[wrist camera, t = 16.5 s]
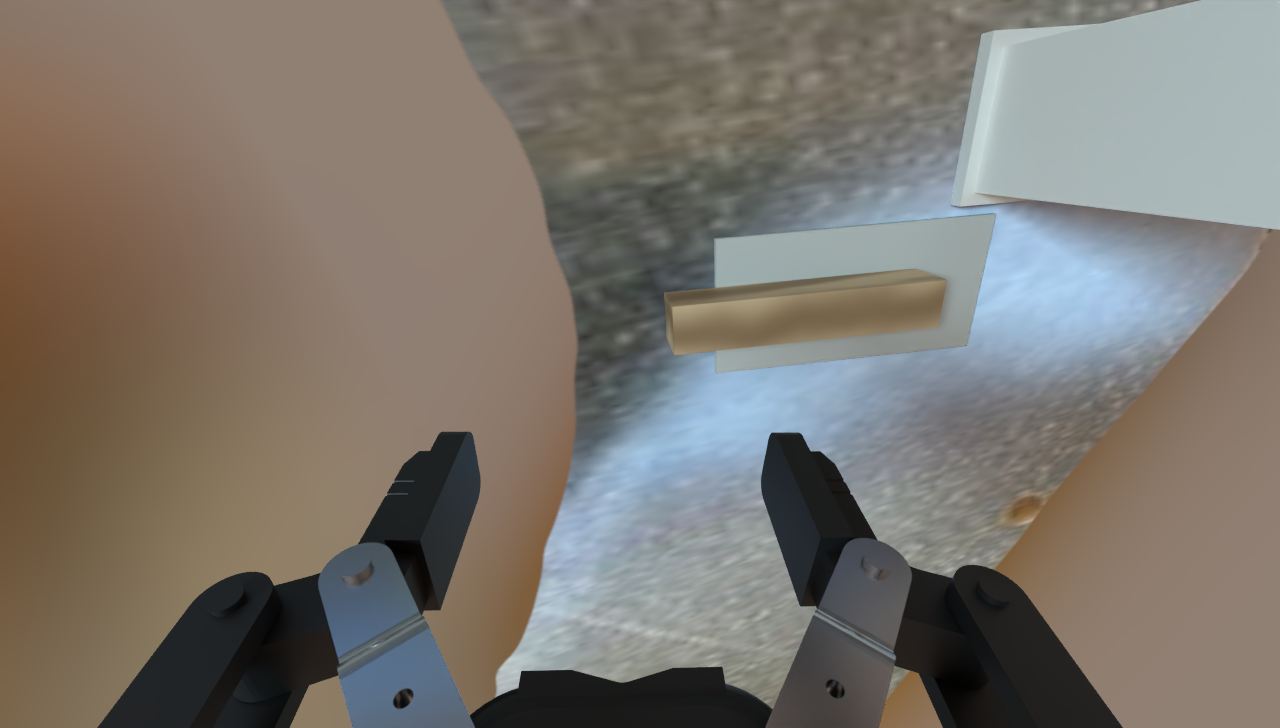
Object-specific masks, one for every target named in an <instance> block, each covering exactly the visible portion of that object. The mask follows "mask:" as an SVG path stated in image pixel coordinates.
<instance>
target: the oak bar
mask: <svg viewBox="0 0 1280 728" xmlns="http://www.w3.org/2000/svg"><path fill="white" fill-rule="evenodd" d="M946 284H947V280H946V279H943V278H941V277H938V276H935V275H933V274H930V273H927V272H924V271H922V270H919V269H916V268H915V269H904V270H894V271H884V272H873V273H863V274H852V275H842V276H831V277H821V278H811V279H800V280H790V281H779V282H769V283H759V284H748V285H738V286H727V287H717V288H706V289H696V290H686V291H675V292H665V293H664V295H665V316H666V337H667V340H668V342H669V344H670V346H671V349H672V351H673V353H674V355H681V354H691V353H700V352H710V351H719V350H729V349H738V348H748V347H757V346H767V345H776V344H786V343H795V342H805V341H814V340H824V339H833V338H843V337H852V336H862V335H871V334H881V333H890V332H900V331H909V330H919V329H928V328H938V325H939V320H940V315H941V309H942V304H943V299H944V294H945V289H946Z"/></svg>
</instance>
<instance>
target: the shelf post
mask: <svg viewBox="0 0 1280 728" xmlns="http://www.w3.org/2000/svg"><path fill="white" fill-rule="evenodd" d="M1030 200H1039V201H1047V202H1055V203H1064V204H1072V205H1080V206H1088V207H1096V208H1105V209H1113V210H1121V211H1129V212H1138V213H1146V214H1154V215H1162V216H1170V217H1179V218H1187V219H1195V220H1203V221H1212V222H1220V223H1228V224H1236V225H1245V226H1253V227H1261V228H1269V229H1278V230H1280V0H1200V1H1196V2H1192V3H1188V4H1183V5H1179V6H1175V7H1170V8H1166V9H1162V10H1158V11H1153V12H1149V13H1145V14H1140V15H1136V16H1132V17H1128V18H1123V19H1119V20H1115V21H1110V22H1106V23H1102V24H1093V25H1076V26H1060V27H1044V28H1028V29H1012V30H996V31H991V32H987V33H984V34H982V35H981V40H980V46H979V51H978V57H977V62H976V67H975V73H974V78H973V84H972V89H971V94H970V100H969V105H968V111H967V116H966V121H965V127H964V132H963V138H962V143H961V148H960V154H959V159H958V165H957V170H956V175H955V181H954V186H953V192H952V197H951V202H950V205H953V206H959V207H962V206H973V205H984V204H996V203H1007V202H1018V201H1030Z"/></svg>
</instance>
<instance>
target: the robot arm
mask: <svg viewBox="0 0 1280 728" xmlns="http://www.w3.org/2000/svg"><path fill="white" fill-rule="evenodd" d="M761 489H762V495H763V499H764V502H765V505H766V508H767V511H768V514H769V517H770V520H771V523H772V525H773V528H774V531H775V534H776V537H777V540H778V543H779V546H780V549H781V552H782V555H783V558H784V561H785V564H786V566H787V569H788V572H789V575H790V578H791V581H792V584H793V587H794V590H795V593H796V596H797V599H798V602H799V605H800V606H816V608H817V610H816V611H815V613H814V615H813V617H812V619H811V622H810V624H809V626H808V629H807V631H806V633H805V636H804V638H803V640H802V643H801V645H800V647H799V650H798V652H797V654H796V657H795V659H794V661H793V664H792V666H791V668H790V671H789V673H788V675H787V678H786V680H785V682H784V685H783V687H782V689H781V692H780V694H779V696H778V699H777V701H776V703H775V706H774V708H773V709H772V708H770V707H769V706H768V705H767V704H765V703H764V702H763V701H761V700H760V699H758V698H757V697H755V696H753V695H752V694H750V693H748V692H746V691H744V690H742V689H739V688H737V687H734V686H732V685H728V684H725V680H724V674H723V668H722V667H697V668H672V669H669V670H665V671H662V672H659V673H656V674H652V675H649V676H646V677H643V678H639V679H636V680H633V681H629V682H625V683H620V682H615V681H611V680H607V679H604V678H600V677H596V676H592V675H588V674H585V673H581V672H577V671H573V670H549V671H521V676H520V682H519V688H517V689H514V690H511V691H508V692H506V693H504V694H502V695H499V696H497V697H496V698H494V699H492V700H491V701H489V702H487V703H486V704H484V705H483V706H481V707H480V708H479V709H477V710H476V711H475V712H473V713H472V714H471V715H470V716H469V714H468V711H467V709H466V707H465V705H464V703H463V701H462V698H461V696H460V694H459V692H458V689H457V687H456V685H455V683H454V681H453V679H452V677H451V674H450V672H449V670H448V668H447V665H446V663H445V661H444V659H443V657H442V654H441V652H440V650H439V648H438V646H437V644H436V641H435V639H434V637H433V635H432V633H431V630H430V628H429V626H428V624H427V622H426V620H425V618H424V617H423V616H422V614H423V611H424V610H440V609H441V606H442V603H443V600H444V598H445V594H446V592H447V589H448V586H449V583H450V580H451V577H452V574H453V571H454V568H455V565H456V562H457V559H458V557H459V554H460V551H461V548H462V545H463V542H464V539H465V536H466V533H467V530H468V527H469V524H470V521H471V519H472V516H473V513H474V510H475V507H476V504H477V501H478V498H479V493H480V472H479V467H478V461H477V455H476V450H475V444H474V439H473V435H472V433H471V432H441V433H440V434H439V435H438V437H437V439H436V441H435V442H434V444H433V447H432V448H431V450H430V451H419V452H418V453H416V454H415V455H414V456H413V457H412V458H411V459H409V460H408V461H407V462H406V463H405V464H404V465H403V466H402V468H401V470H400V471H399V474H398V475H397V477H396V478H395V482H394V483H393V484H392V486H391V487H390V489H389V491H388V493H387V496H385V498H384V500H383V501H382V503H381V505H380V507H379V508H378V510H377V512H376V514H375V516H374V517H373V519H372V521H371V522H370V525H369V526H368V528H367V529H366V531H365V533H364V535H363V537H362V538H361V540H360V542H359V543H358V545H355V546H352V547H350V548H348V549H346V550H344V551H342V552H341V553H339V554H338V555H336V556H335V557H334V558H333V559H332V560H330V561H329V562H328V563H327V565H326V566H325V567H324V569H323V570H322V572H321V573H319V574H316V575H313V576H309V577H306V578H302V579H298V580H294V581H291V582H287V583H283V584H279V585H276V586H274V585H273V583H272V581H271V580H270V578H269V577H268V576H267V575H265V574H263V573H259V572H245V573H241V574H236V575H233V576H231V577H228V578H226V579H224V580H221V581H220V582H218V583H216V584H214V585H213V586H211V587H210V588H208V589H207V590H206V591H204V592H203V593H202V594H200V595H199V596H198V597H197V598H196V599H195V600H194V601H193V602H192V604H191V605H190V606H189V607H188V609H187V610H186V611H185V613H184V614H183V615H182V617H181V618H180V619H179V621H178V622H177V623H176V625H175V626H174V627H173V629H172V630H171V631H170V633H169V634H168V635H167V637H166V638H165V639H164V640H163V642H162V643H161V645H160V646H159V647H158V648H157V650H156V651H155V652H154V654H153V655H152V656H151V658H150V659H149V660H148V662H147V663H146V664H145V666H144V667H143V668H142V670H141V671H140V672H139V674H138V675H137V676H136V678H135V679H134V680H133V681H132V683H131V684H130V685H129V687H128V688H127V690H126V691H125V692H124V693H123V695H122V696H121V698H120V699H119V700H118V701H117V703H116V704H115V705H114V707H113V708H112V709H111V711H110V712H109V713H108V715H107V716H106V717H105V719H104V720H103V721H102V723H101V724H100V725H99V726H98V728H290V725H291V723H292V721H293V719H294V717H295V715H296V712H297V710H298V708H299V706H300V704H301V701H302V699H303V697H304V695H305V693H306V691H307V688H308V686H309V685H311V684H314V683H317V682H320V681H323V680H326V679H329V678H332V677H335V676H338V675H339V679H340V683H341V686H342V690H343V694H344V698H345V701H346V705H347V709H348V712H349V716H350V720H351V723H352V727H353V728H879V725H880V721H881V717H882V713H883V709H884V705H885V701H886V697H887V693H888V689H889V685H890V681H891V677H892V673H893V669H894V666H897V667H900V668H904V669H907V670H910V671H914V672H917V673H919V675H920V677H921V679H922V682H923V684H924V686H925V688H926V691H927V693H928V695H929V697H930V700H931V702H932V704H933V706H934V708H935V711H936V713H937V715H938V718H939V720H940V722H941V724H942V726H943V728H1123V727H1122V726H1121V725H1120V723H1119V722H1118V721H1117V719H1116V718H1115V716H1114V715H1113V714H1112V712H1111V711H1110V709H1109V708H1108V707H1107V705H1106V704H1105V703H1104V701H1103V700H1102V699H1101V697H1100V696H1099V694H1098V693H1097V692H1096V690H1095V689H1094V688H1093V686H1092V685H1091V683H1090V682H1089V681H1088V679H1087V678H1086V676H1085V675H1084V674H1083V672H1082V671H1081V670H1080V668H1079V667H1078V665H1077V664H1076V663H1075V661H1074V660H1073V658H1072V657H1071V656H1070V655H1069V653H1068V652H1067V650H1066V649H1065V647H1064V646H1063V645H1062V643H1061V642H1060V641H1059V639H1058V638H1057V636H1056V635H1055V634H1054V632H1053V631H1052V629H1051V628H1050V627H1049V625H1048V624H1047V623H1046V621H1045V620H1044V619H1043V617H1042V616H1041V615H1040V613H1039V612H1038V610H1037V609H1036V607H1035V606H1034V605H1033V603H1032V602H1031V600H1030V599H1029V598H1028V596H1027V595H1026V594H1025V593H1024V591H1023V590H1022V589H1021V588H1020V587H1019V586H1018V585H1017V584H1015V583H1014V582H1013V581H1012V580H1010V579H1009V578H1007V577H1006V576H1004V575H1003V574H1001V573H999V572H997V571H995V570H992V569H990V568H987V567H983V566H978V565H967V566H963V567H961V568H959V569H958V570H957V571H956V573H955V574H954V576H953V578H949V577H945V576H942V575H938V574H934V573H930V572H926V571H922V570H919V569H916V568H913V567H910V566H909V565H908V563H907V561H906V560H905V559H904V557H903V556H902V555H901V554H900V553H899V552H898V551H896V550H895V549H894V548H892V547H891V546H889V545H887V544H885V543H883V542H881V541H878V540H877V538H876V537H875V535H874V533H873V531H872V529H871V528H870V526H869V524H868V522H867V521H866V519H865V517H864V515H863V513H862V512H861V510H860V508H859V506H858V504H857V503H856V501H855V499H854V497H853V495H851V494H850V490H849V488H848V487H847V485H846V483H845V482H844V481H843V478H842V476H841V474H840V472H839V470H838V469H837V467H836V465H835V464H834V463H833V462H832V461H831V460H829V459H828V458H827V457H826V456H825V455H824V454H823V453H821V452H820V451H810V450H809V448H808V446H807V444H806V442H805V440H804V438H803V436H802V435H801V434H800V433H771V434H770V437H769V440H768V445H767V450H766V455H765V460H764V465H763V470H762V476H761Z"/></svg>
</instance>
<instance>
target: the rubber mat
mask: <svg viewBox="0 0 1280 728" xmlns="http://www.w3.org/2000/svg"><path fill="white" fill-rule="evenodd" d="M995 217H996V214H993V213H991V214H980V215H969V216H958V217H947V218H935V219H924V220H913V221H902V222H891V223H880V224H869V225H858V226H847V227H836V228H824V229H813V230H802V231H791V232H780V233H769V234H758V235H747V236H736V237H725V238H714V260H715V288H717V287H727V286H738V285H748V284H759V283H769V282H779V281H790V280H800V279H811V278H821V277H831V276H842V275H852V274H863V273H873V272H884V271H894V270H904V269H915V268H916V269H919V270H922V271H924V272H927V273H930V274H933V275H935V276H938V277H941V278H943V279H946V280H947V284H946V289H945V294H944V299H943V304H942V309H941V315H940V320H939V325H938V328H928V329H919V330H909V331H900V332H890V333H881V334H871V335H862V336H852V337H843V338H833V339H824V340H814V341H805V342H795V343H786V344H776V345H767V346H757V347H748V348H738V349H729V350H719V351H715V372H716V373H725V372H734V371H743V370H752V369H761V368H770V367H779V366H788V365H798V364H807V363H816V362H825V361H834V360H843V359H852V358H861V357H870V356H880V355H889V354H898V353H907V352H916V351H925V350H934V349H943V348H953V347H962V346H967V342H968V337H969V333H970V328H971V324H972V319H973V315H974V310H975V306H976V302H977V297H978V293H979V288H980V284H981V279H982V275H983V270H984V266H985V261H986V257H987V252H988V248H989V244H990V239H991V235H992V230H993V226H994V221H995Z"/></svg>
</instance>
